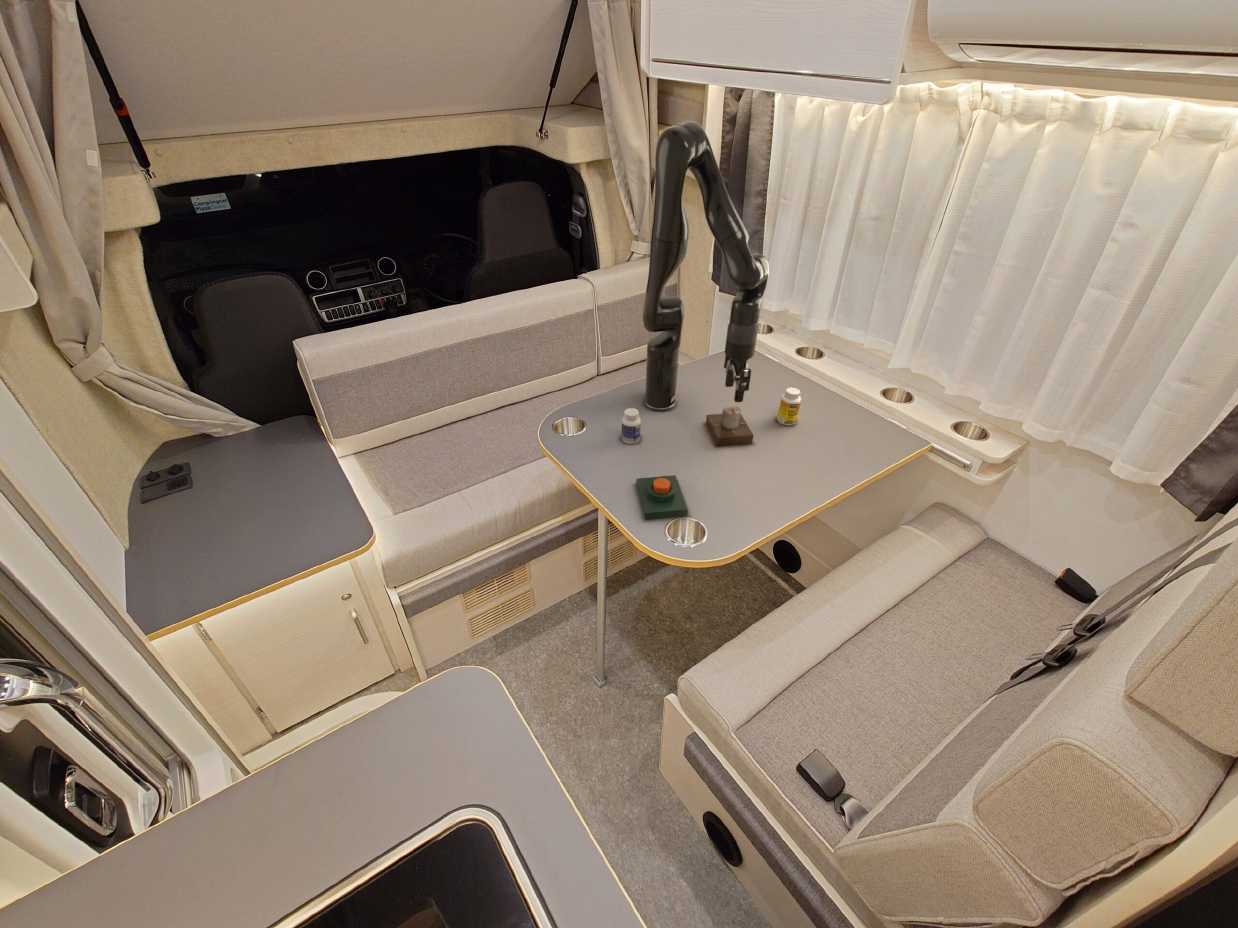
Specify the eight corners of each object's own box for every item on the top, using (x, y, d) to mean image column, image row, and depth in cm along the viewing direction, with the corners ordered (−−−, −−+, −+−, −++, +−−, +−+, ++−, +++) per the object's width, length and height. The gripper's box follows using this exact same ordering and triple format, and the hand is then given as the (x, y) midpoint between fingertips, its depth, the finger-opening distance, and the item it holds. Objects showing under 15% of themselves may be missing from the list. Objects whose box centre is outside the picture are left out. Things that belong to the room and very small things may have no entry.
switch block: (636, 485, 140) (636, 472, 138) (674, 481, 142) (675, 469, 139) (645, 520, 130) (645, 507, 128) (687, 516, 131) (688, 503, 129)
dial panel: (705, 423, 163) (706, 414, 162) (738, 420, 165) (739, 411, 163) (717, 446, 154) (718, 437, 152) (751, 444, 155) (753, 434, 153)
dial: (718, 420, 159) (721, 404, 156) (735, 419, 160) (737, 403, 156) (723, 429, 155) (726, 413, 152) (740, 428, 156) (743, 412, 153)
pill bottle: (638, 445, 154) (639, 418, 149) (619, 443, 155) (620, 415, 150) (641, 434, 158) (642, 407, 153) (623, 432, 159) (623, 405, 154)
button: (651, 484, 135) (652, 478, 134) (667, 482, 135) (668, 477, 134) (654, 494, 132) (655, 489, 131) (671, 493, 132) (671, 487, 131)
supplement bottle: (784, 428, 162) (791, 397, 156) (772, 418, 166) (779, 388, 160) (800, 423, 164) (807, 393, 157) (787, 414, 168) (794, 384, 161)
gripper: (765, 348, 136) (755, 406, 146) (747, 325, 147) (739, 380, 157) (735, 350, 135) (727, 407, 145) (719, 327, 147) (713, 382, 156)
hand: (733, 393), depth 151 cm, fingers open, 8 cm apart
